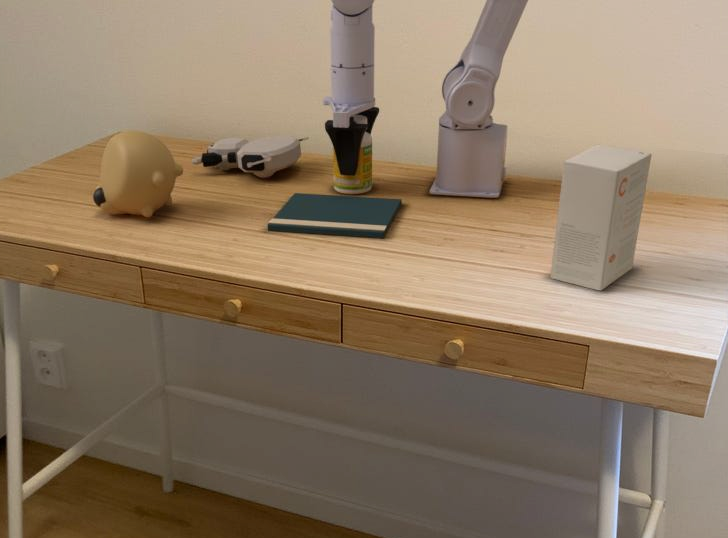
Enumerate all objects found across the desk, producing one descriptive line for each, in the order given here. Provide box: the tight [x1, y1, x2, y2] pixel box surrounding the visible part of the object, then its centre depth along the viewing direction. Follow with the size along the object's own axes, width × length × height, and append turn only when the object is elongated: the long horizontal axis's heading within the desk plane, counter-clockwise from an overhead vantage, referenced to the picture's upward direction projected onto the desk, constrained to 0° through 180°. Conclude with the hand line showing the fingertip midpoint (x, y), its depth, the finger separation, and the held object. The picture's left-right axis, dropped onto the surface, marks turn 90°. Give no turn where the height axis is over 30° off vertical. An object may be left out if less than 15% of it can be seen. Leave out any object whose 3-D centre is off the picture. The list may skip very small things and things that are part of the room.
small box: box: [550, 143, 653, 291], centre depth 100 cm, size 8×6×13 cm
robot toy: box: [191, 135, 310, 179], centre depth 138 cm, size 12×4×15 cm
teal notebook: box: [267, 192, 403, 239], centre depth 121 cm, size 15×13×1 cm
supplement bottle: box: [332, 115, 373, 195], centre depth 128 cm, size 5×5×10 cm
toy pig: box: [92, 130, 184, 218], centre depth 122 cm, size 10×12×11 cm
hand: (352, 168), depth 129 cm, fingers closed on supplement bottle, 5 cm apart
